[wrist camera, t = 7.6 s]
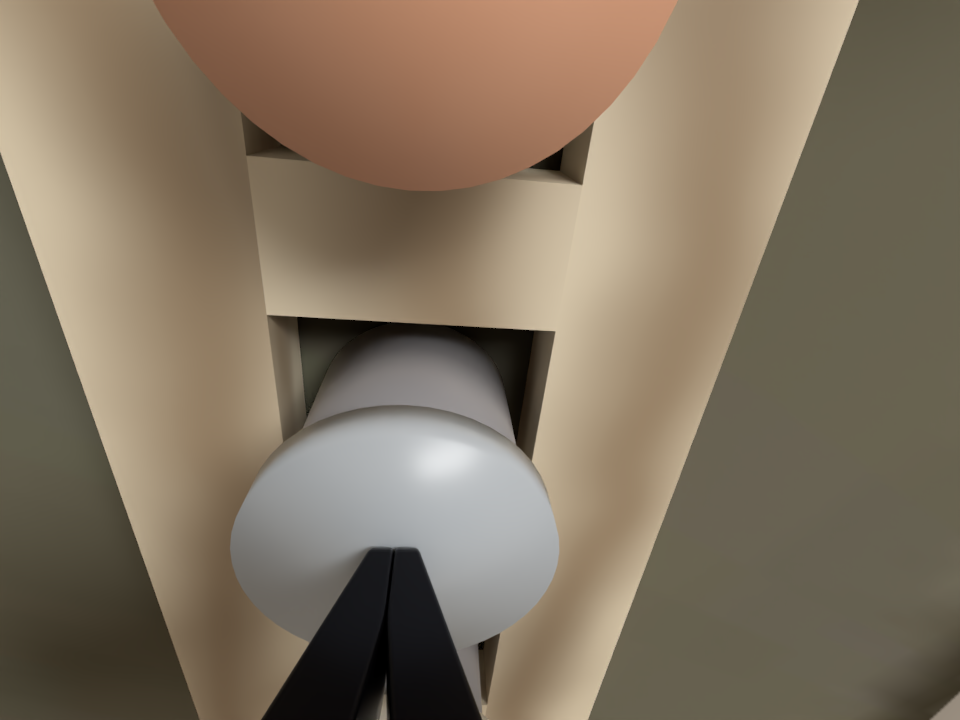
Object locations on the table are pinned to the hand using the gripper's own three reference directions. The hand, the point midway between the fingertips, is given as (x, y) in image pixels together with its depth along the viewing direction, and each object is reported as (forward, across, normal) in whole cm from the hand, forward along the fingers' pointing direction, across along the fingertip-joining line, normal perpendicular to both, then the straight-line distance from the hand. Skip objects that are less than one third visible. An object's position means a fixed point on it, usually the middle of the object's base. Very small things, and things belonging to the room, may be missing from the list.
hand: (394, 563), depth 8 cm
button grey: (+5, 0, 0) cm, 5 cm away
